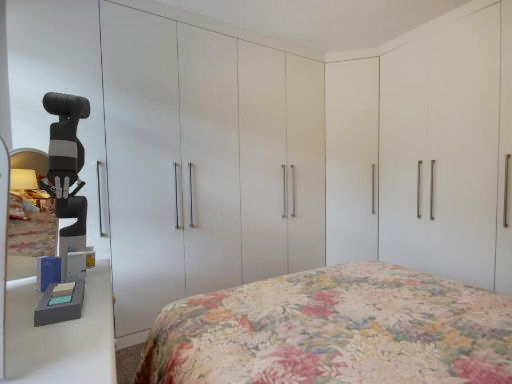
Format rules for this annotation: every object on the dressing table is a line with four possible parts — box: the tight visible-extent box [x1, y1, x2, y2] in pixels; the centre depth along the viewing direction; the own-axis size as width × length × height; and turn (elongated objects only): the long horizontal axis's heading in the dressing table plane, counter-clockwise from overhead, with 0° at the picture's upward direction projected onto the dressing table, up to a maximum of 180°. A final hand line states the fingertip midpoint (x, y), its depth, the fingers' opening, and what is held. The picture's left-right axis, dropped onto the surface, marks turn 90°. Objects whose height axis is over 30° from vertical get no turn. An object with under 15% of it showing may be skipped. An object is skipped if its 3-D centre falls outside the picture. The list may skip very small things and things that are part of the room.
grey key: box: [58, 282, 75, 287], centre depth 88 cm, size 5×5×4 cm
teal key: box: [49, 296, 72, 306], centre depth 76 cm, size 5×5×4 cm
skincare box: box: [65, 251, 87, 282], centre depth 101 cm, size 6×4×12 cm
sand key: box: [53, 284, 74, 297], centre depth 82 cm, size 5×5×4 cm
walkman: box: [35, 255, 62, 293], centre depth 95 cm, size 8×3×12 cm, turn 75°
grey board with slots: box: [33, 278, 86, 327], centre depth 82 cm, size 24×10×4 cm, turn 30°
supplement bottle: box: [86, 244, 96, 270], centre depth 125 cm, size 5×5×10 cm
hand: (62, 210), depth 86 cm, fingers closed
